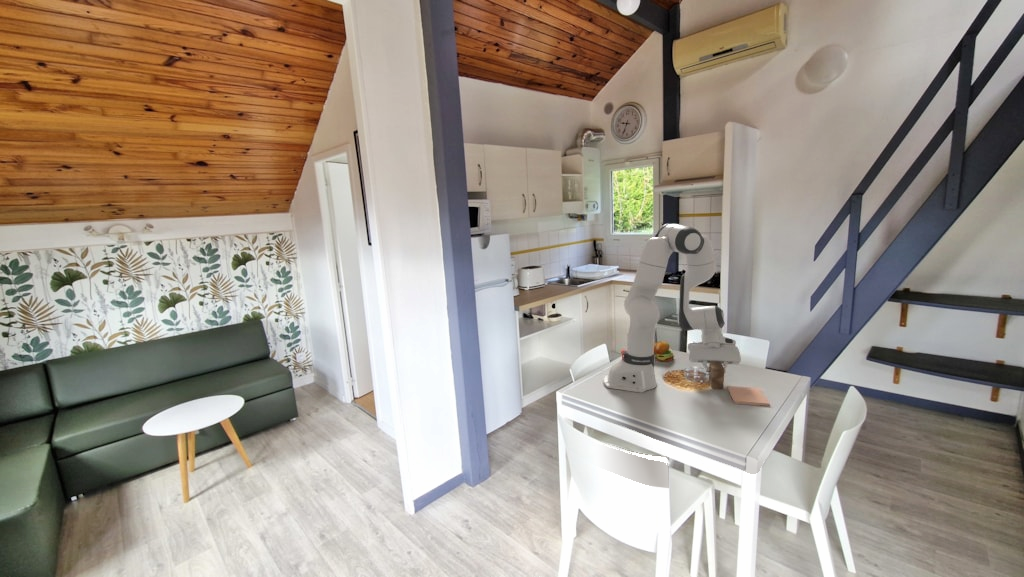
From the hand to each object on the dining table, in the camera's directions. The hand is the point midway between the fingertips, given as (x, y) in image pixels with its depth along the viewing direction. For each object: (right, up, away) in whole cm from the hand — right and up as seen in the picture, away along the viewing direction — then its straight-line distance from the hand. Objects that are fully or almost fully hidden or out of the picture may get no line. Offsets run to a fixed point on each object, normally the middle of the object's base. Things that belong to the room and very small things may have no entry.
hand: (715, 372), depth 183 cm
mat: (+7, -8, -11) cm, 15 cm away
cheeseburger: (-12, 0, +32) cm, 34 cm away
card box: (0, -6, 0) cm, 6 cm away
